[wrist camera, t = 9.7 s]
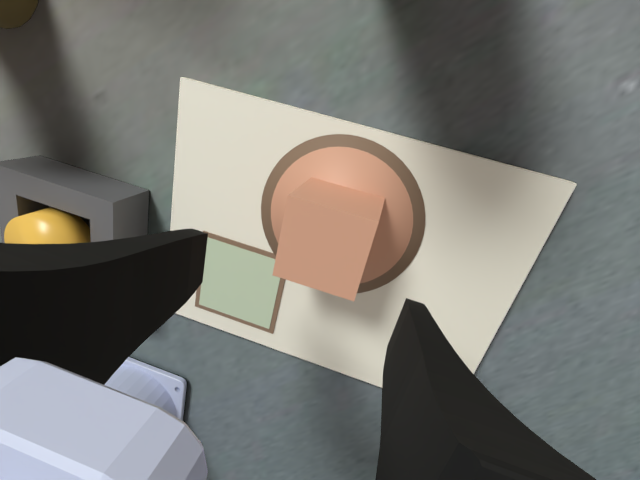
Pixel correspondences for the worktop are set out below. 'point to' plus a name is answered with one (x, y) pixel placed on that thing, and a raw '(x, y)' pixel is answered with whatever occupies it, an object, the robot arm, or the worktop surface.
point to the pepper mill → (16, 12)
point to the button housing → (73, 197)
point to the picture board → (389, 241)
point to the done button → (47, 228)
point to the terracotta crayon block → (327, 237)
